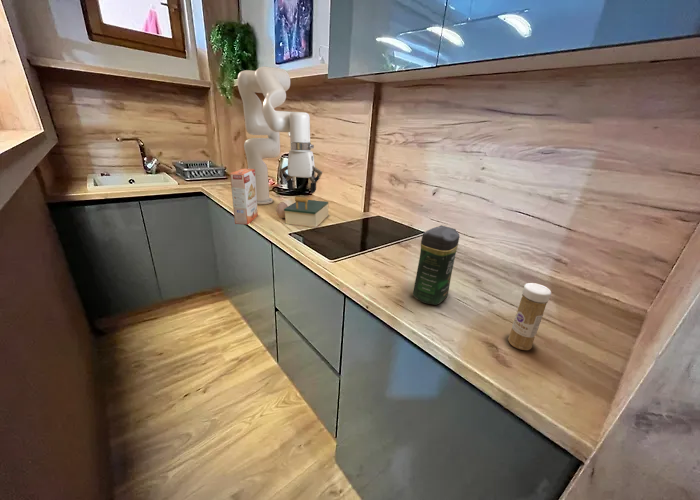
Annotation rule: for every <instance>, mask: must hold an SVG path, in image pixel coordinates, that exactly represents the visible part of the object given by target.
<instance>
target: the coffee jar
mask: <svg viewBox="0 0 700 500" xmlns="http://www.w3.org/2000/svg"><path fill="white" fill-rule="evenodd" d="M459 241H460V233H459V232H458V231H457V229H456V228H453V227H450V226H447V225H439V226H436V227H435V226H434V227H432V228H430V229H428V230H426V231H424V232H423V233H422V236H421V239H420V252H419V258H418V265H417V269H416V276H415V280H414V286H413V291H412V294H413V297H414V298H415V299H416V300H418V301H420V302H422V303H424V304H429V305H435V306H436V305H439V304H441V303H442V302H443V301H445V300H446V298H447V297H448V295H449V290H450V285H451V281H452V279H451V278H452V273H453V268H454V263H455V259H456V254H457V251H458V247H459Z"/></svg>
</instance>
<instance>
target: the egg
mask: <svg viewBox="0 0 700 500" xmlns="http://www.w3.org/2000/svg"><path fill="white" fill-rule="evenodd" d="M288 206H289V205H288V204H287V203H286V202H285V201H281V202H279V203H278V204H277V206H276V214H277V216H278V217H279V218H280V219H285V211H284V209H285V208H287V207H288Z"/></svg>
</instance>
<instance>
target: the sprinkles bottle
mask: <svg viewBox="0 0 700 500" xmlns="http://www.w3.org/2000/svg"><path fill="white" fill-rule="evenodd" d="M521 293H522V294H521V299H520V300H519V301H520V302H519V305H518V308H517V311H516V313H515V317H514V319H513V322H512V326H511V330H510V333H509V336H508V338H507V341H508V343H509V344H510V345H511V346H512V347H513V348H514V349H515V348H516V349H518V350H520V351H521V350H522V351H530V350H531V349H532V348H533V343H534V340H535V338H536V336H537V334H538V330H539V327H540V324H541V322H542V318H543V316H544V313H545V311H546V306H547V304H548V303H549V301H550V299H551V295H552V291H551V289H550V288H549V287H547V286H545V285H543V284H540V283H535V282H528V283H525V284H524V286H523V289H522V292H521Z"/></svg>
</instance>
